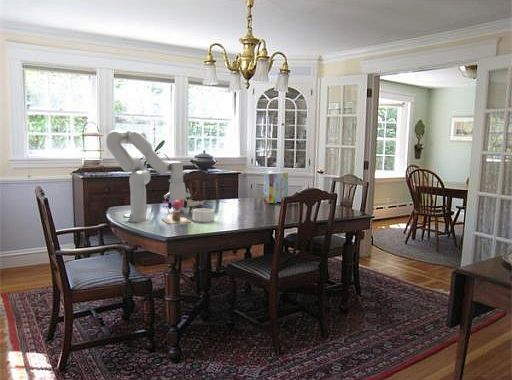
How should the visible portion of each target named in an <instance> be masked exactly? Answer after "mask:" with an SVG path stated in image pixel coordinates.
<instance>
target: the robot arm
mask: <svg viewBox="0 0 512 380" xmlns="http://www.w3.org/2000/svg"><path fill="white" fill-rule="evenodd" d="M105 142H106V147H107V149H108V150H109V153H111V155H112V156H113V158H114V159H115V161H116V162H117V163H118V165H119V166H120V168H121V169H122V170H123V172H126V173H131V174H130V176H129V180H128V182H129V188H130V212H129V213H128V214H123V215H122V218H123V219H127V220H128V222H131V223H141V222H147V221H148V222H149V220H150V219H149V217H147V188H146V185H147V184H149V182H150V181H151V178H152V177H151V175H150V172H149V171H148V169H147V168H146V166H145V165H144V164H143V163H142V161H141V160H140V159H139V158H138V157H137V156H131V155H130V154H129V152H128V151H127V150H126V148H125V146H123V145H122V144H124V145H125V144H127V145H128V144H129V145H130V144H131V145H133V146H134V148H135V149H136V150H138V151H139V152H140V153H141V154H142V155H143V156H144V159H145V160H146V162H147V163H148V164H149V166H151V167H152V169H153V170H155V172H156V173H158V174H160V175H164V174H168V173H170V179H168V182H169V183H170V184H169V187H168V189H169V190H168V192H167V193H166V194H164V195H163V198H164V199H165V200H164V201H167V202H168V204H167V206H168V207H167V208H168V209H169V210H172V209H173V208H172V207H171V201H173V200H175V201H176V200H178V199H184V206H183V207H184V208H185V209H187V207H186V206H187V201H188V200H189V198H190V199H191V195H192V194H191V193H190V194H189V193H188V191H187V188H186V185H185V182H184V170H183V168H184V167H183V166H184V164H183V161H179V160H178V161H169V160H162V158H160V157H159V156H158V154H157V153H156V151H155V150H156V149H155V146H154V145H153V144H152V143H151V142H150V141H149V139H147V135H146V133H145V132H143V131H142V130H123V129H115V130H114V129H113V130H111V131H110V132H109V133H108V134H107V136H106V140H105ZM186 194H187V195H188V197H187V196H186ZM168 199H169V200H168ZM167 202H166V203H167Z"/></svg>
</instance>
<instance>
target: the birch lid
mask: <svg viewBox="0 0 512 380" xmlns="http://www.w3.org/2000/svg"><path fill="white" fill-rule="evenodd" d="M171 214H172V215H171V216H172V217H169V218H167V217H166V218H165V217H164V218H161V220H162V221H164V222H165V223H166V224H168V225H167V226H171V225H170V224H179V225H187V224H186V223H191V222H192V221H191V220H190V219H189V218H186V217H181V212H180V210H175V211H174V210H172V213H171Z"/></svg>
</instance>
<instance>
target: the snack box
mask: <svg viewBox="0 0 512 380" xmlns="http://www.w3.org/2000/svg"><path fill="white" fill-rule="evenodd" d="M288 185H289V173H288V172H286V171H285V172H284V171H281V172H278V171H277V172H265V173H263V190H262V191H263V193H262V194H263V197H262V198H263V199H262V201H263V202H265V203H264V204H267V203H273V204H276V203H275V202H281V197H282V196H288V195H289V193H288V191H289V186H288Z"/></svg>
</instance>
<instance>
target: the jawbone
mask: <svg viewBox="0 0 512 380" xmlns="http://www.w3.org/2000/svg"><path fill="white" fill-rule="evenodd" d="M186 191H187V193H189V194H191V193H190V192H191V191H190V189H189V188H188V187H187V188H186ZM187 197H188V195H187V194H186V198H187ZM182 200H183V205H182V207H184V199H182ZM205 202H206V200H201V201H199V200H197V201H195V200H193V199H191V197H190V198H189V200H188V201H187V207H188V208H190V207H197V206H199V205H203V204H205ZM187 207H186V208H187Z"/></svg>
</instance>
